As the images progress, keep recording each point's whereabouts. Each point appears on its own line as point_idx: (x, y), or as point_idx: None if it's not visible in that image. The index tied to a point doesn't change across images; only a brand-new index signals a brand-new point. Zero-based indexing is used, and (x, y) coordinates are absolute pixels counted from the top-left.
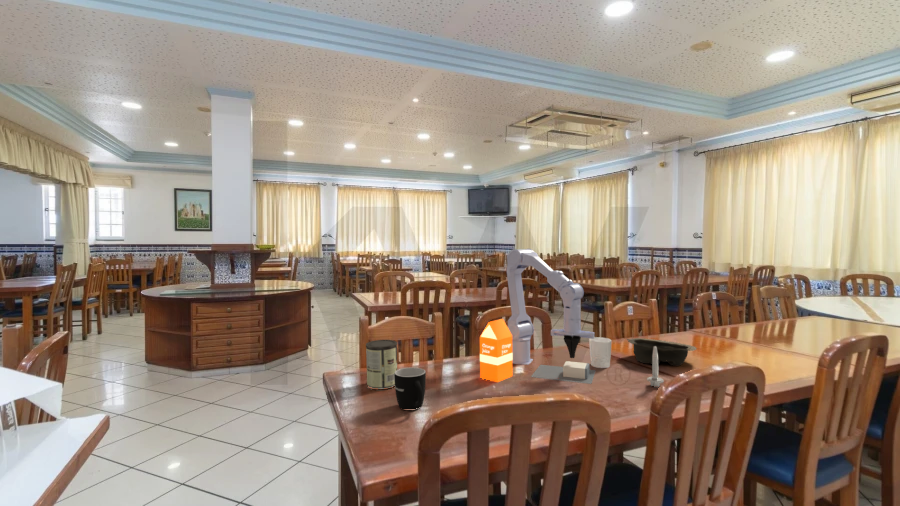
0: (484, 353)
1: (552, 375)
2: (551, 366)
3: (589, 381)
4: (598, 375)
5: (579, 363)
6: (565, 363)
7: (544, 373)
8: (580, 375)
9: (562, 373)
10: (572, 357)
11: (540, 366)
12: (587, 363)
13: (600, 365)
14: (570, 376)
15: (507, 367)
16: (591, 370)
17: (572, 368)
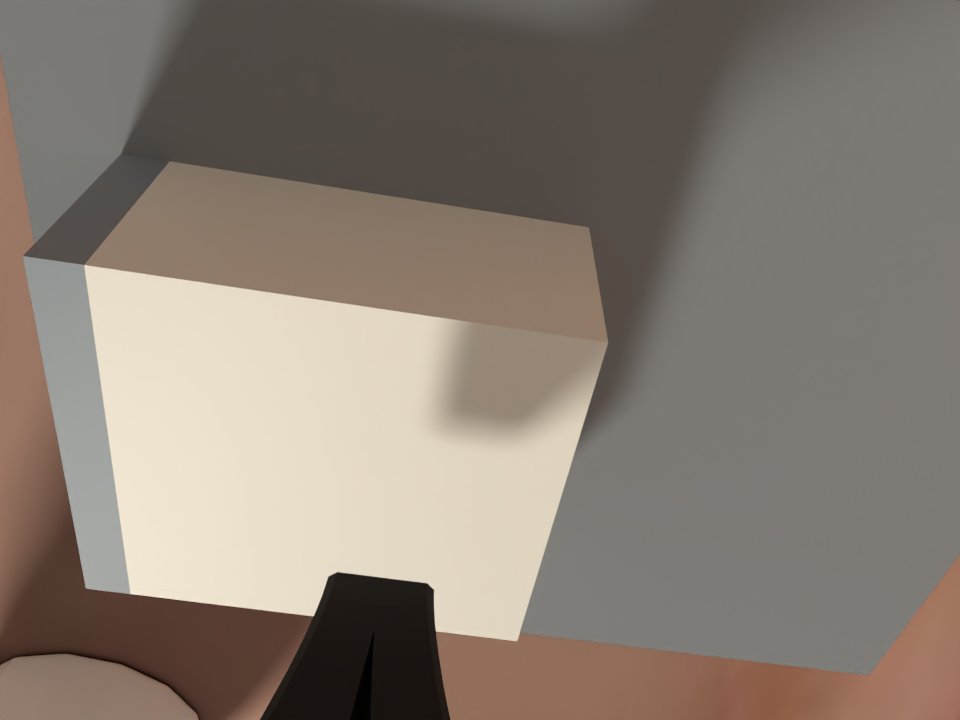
0: None
1: (792, 250)
2: (719, 632)
3: (46, 3)
4: (13, 414)
5: (264, 562)
6: (538, 528)
7: (921, 335)
8: (240, 200)
9: None
10: (366, 585)
11: (888, 616)
12: (119, 580)
13: (44, 688)
14: (448, 211)
15: None
16: None
17: (389, 296)
